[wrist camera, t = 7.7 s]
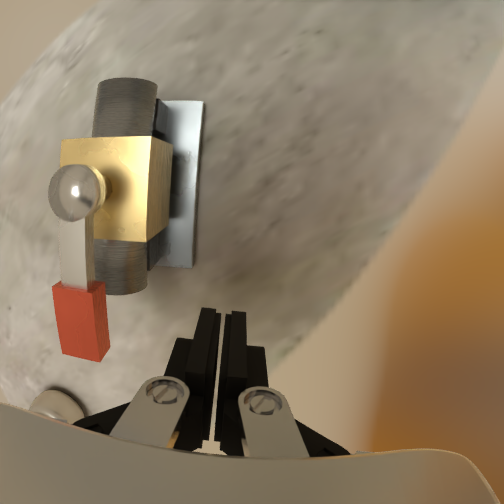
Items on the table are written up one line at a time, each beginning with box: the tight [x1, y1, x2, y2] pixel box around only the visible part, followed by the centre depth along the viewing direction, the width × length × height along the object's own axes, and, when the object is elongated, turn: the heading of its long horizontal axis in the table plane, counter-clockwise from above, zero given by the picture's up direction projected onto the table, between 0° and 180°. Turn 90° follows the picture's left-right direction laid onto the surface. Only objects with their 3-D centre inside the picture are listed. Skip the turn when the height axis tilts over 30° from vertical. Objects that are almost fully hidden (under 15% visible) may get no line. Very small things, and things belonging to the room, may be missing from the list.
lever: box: [48, 164, 110, 362], centre depth 13 cm, size 9×2×2 cm, turn 174°
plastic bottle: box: [29, 390, 85, 424], centre depth 18 cm, size 6×7×20 cm
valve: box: [60, 78, 205, 295], centre depth 17 cm, size 12×8×10 cm, turn 175°
